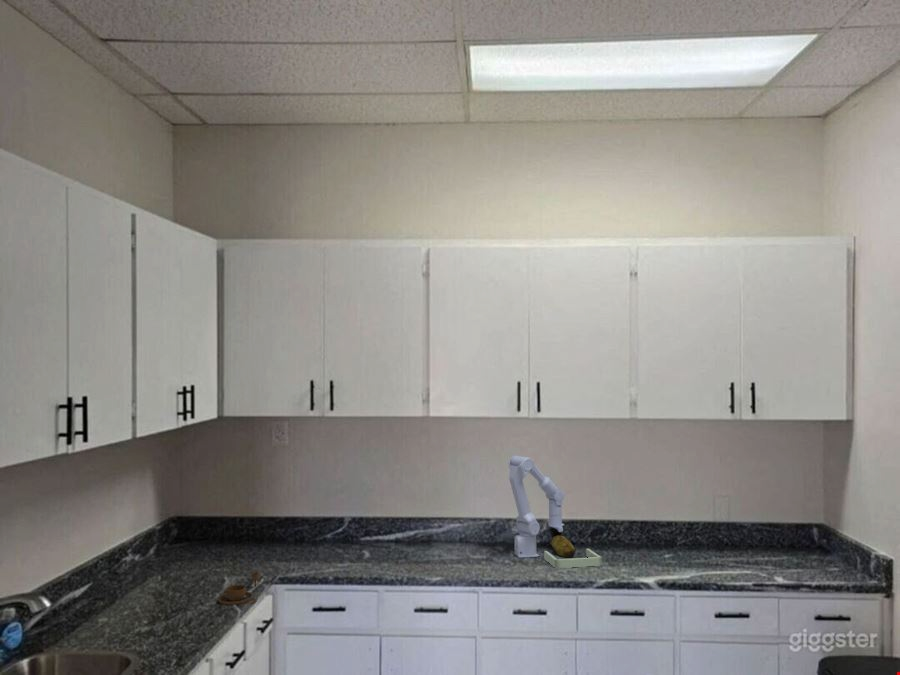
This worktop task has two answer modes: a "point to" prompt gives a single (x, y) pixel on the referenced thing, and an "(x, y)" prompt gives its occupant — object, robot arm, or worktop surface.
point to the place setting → (238, 593)
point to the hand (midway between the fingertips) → (555, 544)
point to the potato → (562, 546)
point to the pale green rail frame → (574, 560)
